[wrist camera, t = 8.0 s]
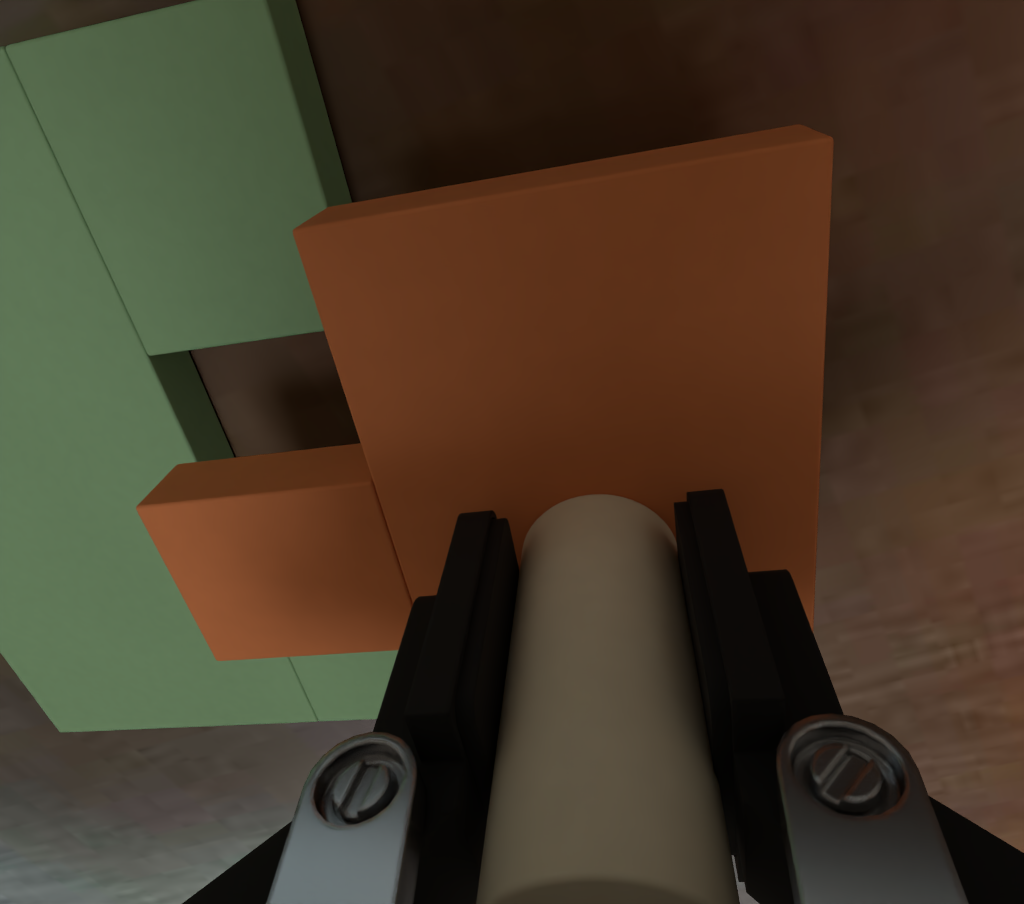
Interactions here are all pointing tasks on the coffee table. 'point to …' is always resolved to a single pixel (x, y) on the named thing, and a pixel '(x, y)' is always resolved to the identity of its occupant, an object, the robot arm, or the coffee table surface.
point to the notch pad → (147, 344)
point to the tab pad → (548, 474)
